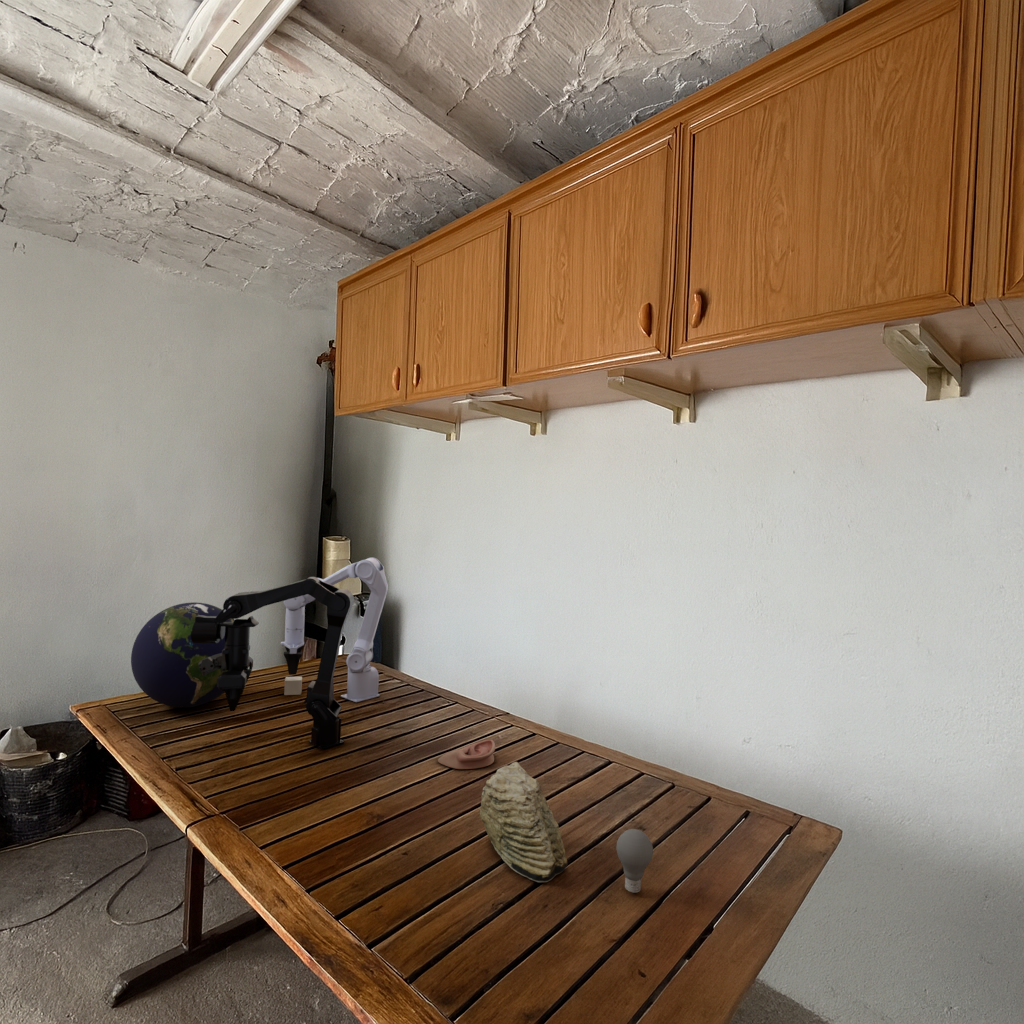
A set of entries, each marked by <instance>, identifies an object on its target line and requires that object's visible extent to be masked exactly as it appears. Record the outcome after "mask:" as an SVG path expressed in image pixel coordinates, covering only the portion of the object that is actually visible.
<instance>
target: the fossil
mask: <svg viewBox="0 0 1024 1024" xmlns="http://www.w3.org/2000/svg"><path fill="white" fill-rule="evenodd" d="M479 819H480V820H481V822H482V823H483V827H484V829H485V832H486V833H487V836H488V838H489V840H490V842H491V844H492V845H493V848H494V850H495V852H496V853H497V854H498V856H500V858H501V859H502V861H503V862H504V863H505V864H506V865H507V867H509V868H510V869H511V870H513V871H514V873H517V874H519V875H520V876H522V877H525V878H527V879H528V880H531V881H533V882H536V883H548V882H550V881H552V880H553V879H554V878H555V877H556V876H557V875H560V874H561V873H563V872H564V871H565V870H566V868H567V867H568V866H569V863H568V859H567V856H566V848H565V847H564V841H563V838H562V834H561V831H560V826H559V824H558V822H557V821H556V818H555V817H554V813H553V811H552V810H551V807H550V805H549V803H548V802H547V799H546V796H545V794H544V790H543V789H542V786H541V784H540V781H539V780H537V779H535V778H533V777H532V776H531V775H529V773H528V772H527V771H526V769H524V768H523V766H521V764H520V763H519V762H518V761H513V762H512V763H511V764H509V765H507V764H506V765H504V766H502V767H500V768H498V769H497V770H496V772H495V773H494V774H492V775H491V776H490V778H489V779H487V780H486V782H485V786H483V788H482V792H481V802H480V808H479Z"/></svg>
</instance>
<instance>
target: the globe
mask: <svg viewBox="0 0 1024 1024" xmlns="http://www.w3.org/2000/svg"><path fill="white" fill-rule="evenodd" d="M222 610H223V608H221V607H218V606H216V605H213V604H209V603H204V602H195V601H194V602H192V601H191V602H183V603H179V604H175V605H173V606H169V607H167V608H165V609H162V610H161V611H160V612H158V613H157V614H155V615H154V616H153V617H151V618H150V619H149V620H148V621H147V622H146V623H145V624H144V625H143V627H142V628H141V629H140V631H139V632H138V633H137V635H136V637H135V640H134V642H133V645H132V648H131V654H130V666H131V671H132V675H133V677H134V680H135V682H136V684H137V685H138V687H139V688H140V690H142V692H143V693H144V694H145V695H146V696H147V697H149V698H150V699H152V700H153V701H155V702H157V703H158V704H162V705H164V706H168V707H173V708H194V707H197V706H201V705H205V704H207V703H210V702H212V701H214V700H216V699H217V698H219V697H220V696H222V695H223V694H224V693H225V692H224V691H223V690H221V689H219V688H218V687H217V679H218V677H219V675H220V674H221V673H223V672H227V671H221V668H220V669H218V670H215V671H213V672H210V673H208V674H207V675H202V673H201V671H199V665H198V663H199V662H200V661H201V660H202V659H205V658H207V657H210V656H213V655H216V654H219V653H222V650H224V647H225V636H224V638H223V639H220V641H219V642H218V643H193V642H192V640H191V631H192V628H193V624H194V622H195V617H196V616H198V615H204V616H217V615H219V613H220V612H221V611H222ZM234 620H235V619H232V618H230V619H229V620H227V621H225V622H234Z"/></svg>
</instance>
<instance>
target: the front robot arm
mask: <svg viewBox="0 0 1024 1024" xmlns="http://www.w3.org/2000/svg"><path fill="white" fill-rule="evenodd" d="M318 578H319V577H317V576H309V577H307V578H306V579H301V580H297V581H295V582H291V583H287V584H284V585H283V584H282V585H280V586H276V587H273V588H268V589H265V590H256V591H255V590H254V591H253V590H252V591H242V592H237V593H235V594H233V595H230V596H229V597H227V598H226V599H225V600H224V602H223V605H222V611H221V612H220V613H219V615H217V616H204V615H198V616H196V617H195V622H194V624H193V628H192V631H191V640H192V642H193V643H218V642H219V641H220V639H223V638H224V636H225V647H224V650H222V653H219V654H216V655H213V656H210V657H207V658H205V659H202V660H201V661H200V662H199V663H198V665H199V671H201V673H202V675H207V674H208V673H210V672H213V671H215V670H218V669H220V668H221V671H227V672H223V673H221V674H220V675H219V677H218V679H217V687H218V688H219V689H221V690H223V691H224V693H225V698H226V702H227V706H228V711H229V712H235V711H236V709H237V706H238V705H239V702H240V699H241V697H242V695H243V692H244V690H245V687H246V686H247V683H248V680H249V678H250V676H251V673H252V671H253V668H254V659H253V658H252V657H251V656H250V650H251V645H250V636H251V635H250V633H251V628H254V627H255V628H256V626H258V625H259V620H258V621H257V619H255V618H254V616H253V615H250V616H248V618H242V617H245V616H246V615H249V614H251V613H253V612H255V611H257V610H259V609H261V608H263V607H267V606H270V605H273V604H277V603H280V602H284V601H285V600H288V599H292V598H295V597H299V596H303V595H306V594H309V595H311V596H312V597H314V598H315V600H316V601H317V602H319V603H320V604H321V605H323V606H326V622H327V627H326V632H325V637H324V641H323V646H322V652H321V657H320V662H319V666H318V671H317V672H318V673H317V675H316V676H317V677H316V680H311V682H310V683H309V684H308V686H307V687H306V697H305V700H304V701H303V704H305V711H306V712H307V713H308V715H310V716H311V717H312V720H313V721H312V722H313V723H312V727H311V730H310V731H311V732H310V733H311V735H310V739H309V740H308V743H309V744H310V745H313V746H314V747H316V748H318V749H320V750H327V749H329V748H333V747H336V746H340V745H343V744H344V743H345V741H344V740H343V739H341V737H342V735H341V733H342V717H340V716H339V715H340V713H341V710H342V708H343V706H342V705H341V704H340V703H339V701H337V700H336V698H335V685H334V675H335V670H336V666H337V660H338V656H339V651H340V646H341V642H342V636H343V632H344V627H345V624H346V622H347V620H348V617H349V615H350V612H351V610H352V608H353V605H354V602H355V597H354V595H353V593H352V592H351V591H350V590H349V589H346V588H338V587H337V586H335V585H330V584H328V583H325V582H323V581H321V580H319V579H318ZM230 618H232V619H234V622H225V621H227V620H229V619H230Z"/></svg>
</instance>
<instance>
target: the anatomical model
mask: <svg viewBox="0 0 1024 1024" xmlns="http://www.w3.org/2000/svg"><path fill="white" fill-rule="evenodd" d="M495 751H496V743H495V741H494V740H493V739H484V740H481V741H478V742H475V743H472V744H470V745H467V746H465V747H461V748H458V749H454V750H451V751H448V752H445V753H444V754H443V755H441V756H440V757H439V758H438V759H437V762H438V763H439V764H441V765H442V766H445V767H449V768H451V769H456V770H472V769H480V768H484V767H487V766H490V765H492V764H493V763H494V762H495V756H494V753H495Z"/></svg>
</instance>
